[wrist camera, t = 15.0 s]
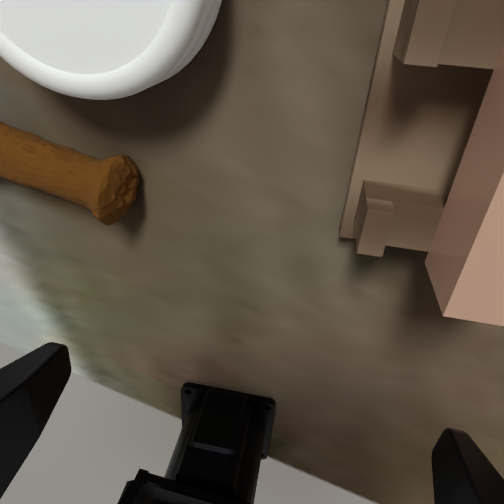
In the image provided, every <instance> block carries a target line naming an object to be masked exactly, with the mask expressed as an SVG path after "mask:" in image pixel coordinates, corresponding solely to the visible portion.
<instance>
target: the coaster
mask: <svg viewBox="0 0 504 504" xmlns="http://www.w3.org/2000/svg"><path fill="white" fill-rule="evenodd" d="M221 2H222V0H0V57H2V58H3V59H4V60H5V61H6V62H7V63H9V64H10V65H11V66H12V67H13V68H15V69H16V70H17V71H19V72H20V73H22V74H23V75H24V76H26V77H27V78H29V79H31V80H33V81H34V82H36V83H38V84H40V85H41V86H44V87H46V88H48V89H51V90H53V91H55V92H58V93H61V94H65V95H68V96H72V97H78V98H84V99H91V100H110V99H119V98H123V97H127V96H131V95H134V94H136V93H139V92H141V91H143V90H145V89H147V88H149V87H152V86H154V85H156V84H158V83H160V82H162V81H165V80H167V79H169V78H170V77H172V76H173V75H175V74H176V73H178V72H179V71H180V70H182V69H183V68H184V67H185V66H186V65H187V64H188V63H189V62H190V61H191V60H192V59H193V58H194V57H195V55H196V54H197V53H198V52H199V51H200V49H201V48H202V46H203V44H204V43H205V41H206V39H207V38H208V36H209V34H210V32H211V30H212V27H213V25H214V23H215V21H216V18H217V15H218V12H219V9H220V5H221Z"/></svg>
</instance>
